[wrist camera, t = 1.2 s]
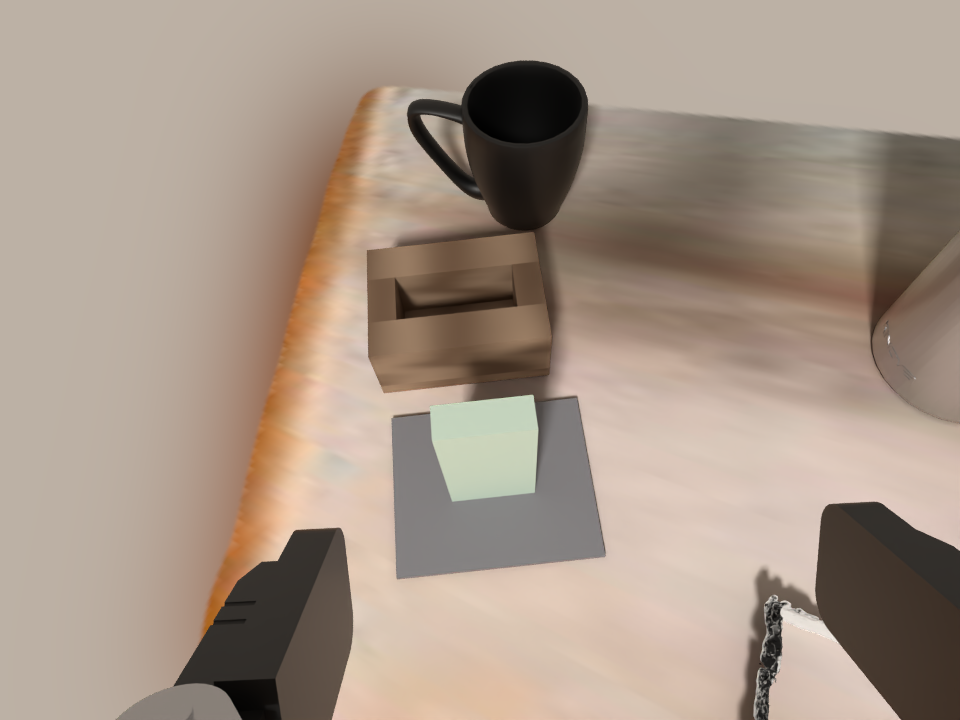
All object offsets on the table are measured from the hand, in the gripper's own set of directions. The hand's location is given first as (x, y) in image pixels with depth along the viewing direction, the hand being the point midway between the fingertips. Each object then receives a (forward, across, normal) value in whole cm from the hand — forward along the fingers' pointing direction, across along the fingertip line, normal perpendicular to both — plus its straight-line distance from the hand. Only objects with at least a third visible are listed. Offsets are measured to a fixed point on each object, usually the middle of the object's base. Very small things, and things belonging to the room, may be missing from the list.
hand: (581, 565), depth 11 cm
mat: (+27, +1, +11) cm, 29 cm away
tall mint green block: (+27, +1, +11) cm, 29 cm away
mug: (+43, 0, -5) cm, 43 cm away
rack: (+35, +3, +3) cm, 35 cm away
